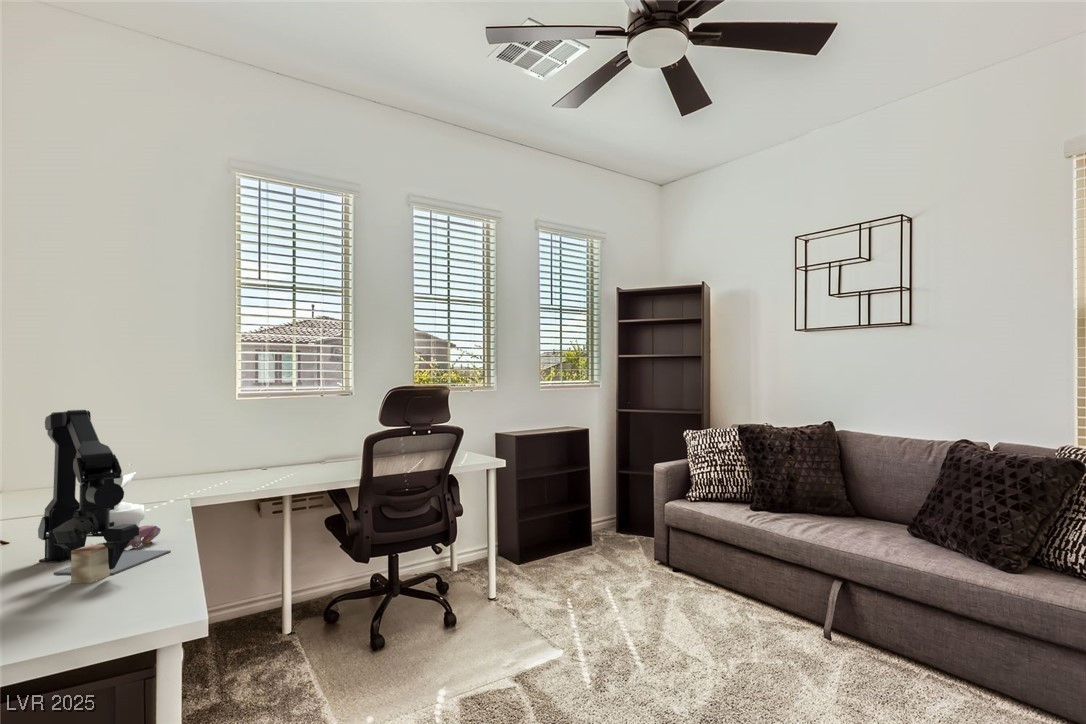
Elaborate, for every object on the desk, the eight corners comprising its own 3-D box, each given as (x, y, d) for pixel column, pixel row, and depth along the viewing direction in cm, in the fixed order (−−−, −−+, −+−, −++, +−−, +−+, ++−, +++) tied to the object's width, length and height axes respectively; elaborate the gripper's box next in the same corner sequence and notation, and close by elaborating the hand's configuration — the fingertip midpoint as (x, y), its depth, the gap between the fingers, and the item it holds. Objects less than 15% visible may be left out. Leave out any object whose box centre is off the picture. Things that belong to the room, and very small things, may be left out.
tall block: (71, 583, 128) (71, 550, 128) (90, 575, 133) (91, 544, 133) (90, 583, 128) (90, 550, 128) (109, 575, 133) (109, 544, 133)
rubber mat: (53, 574, 135) (53, 572, 135) (117, 552, 152) (117, 550, 152) (113, 574, 133) (113, 572, 133) (170, 552, 151) (170, 550, 151)
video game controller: (125, 556, 153) (135, 534, 153) (113, 549, 154) (123, 526, 154) (157, 546, 163) (166, 525, 163) (145, 539, 164) (154, 518, 163)
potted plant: (124, 546, 158) (125, 459, 159) (85, 547, 158) (85, 460, 159) (156, 534, 170) (156, 454, 172) (119, 535, 171) (120, 455, 172)
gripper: (25, 511, 125) (24, 580, 124) (99, 511, 123) (99, 581, 122) (72, 501, 136) (71, 564, 135) (141, 500, 134) (140, 564, 134)
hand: (94, 568), depth 131 cm, fingers open, 9 cm apart
